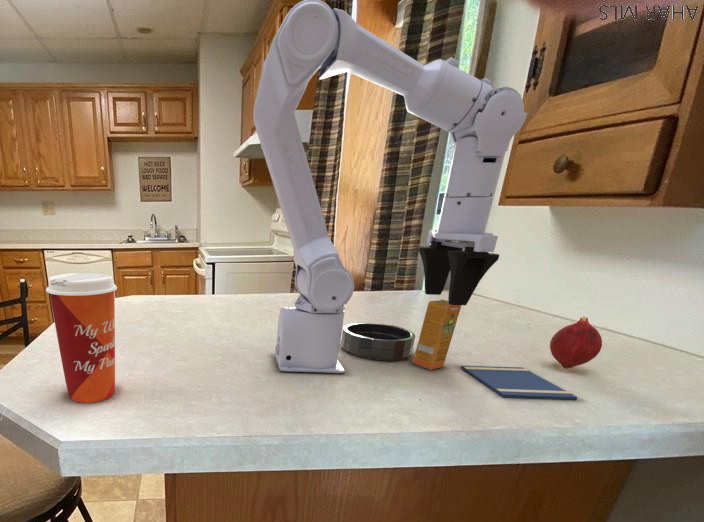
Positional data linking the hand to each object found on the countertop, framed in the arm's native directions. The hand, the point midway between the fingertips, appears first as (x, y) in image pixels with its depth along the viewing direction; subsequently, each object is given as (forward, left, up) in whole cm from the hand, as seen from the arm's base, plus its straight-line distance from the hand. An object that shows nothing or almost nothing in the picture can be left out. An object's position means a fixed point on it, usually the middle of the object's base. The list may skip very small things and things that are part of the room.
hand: (444, 299), depth 62 cm
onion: (+21, +1, -11) cm, 24 cm away
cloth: (+9, -6, -10) cm, 15 cm away
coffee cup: (-49, -15, -11) cm, 52 cm away
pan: (-6, +7, -10) cm, 14 cm away
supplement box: (0, 0, -11) cm, 11 cm away
